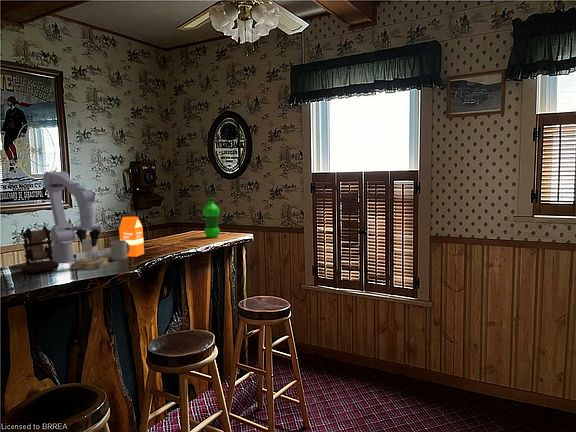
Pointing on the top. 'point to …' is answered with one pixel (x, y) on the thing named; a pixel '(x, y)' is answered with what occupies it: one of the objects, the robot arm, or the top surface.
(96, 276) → the top surface
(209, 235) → the plastic bottle
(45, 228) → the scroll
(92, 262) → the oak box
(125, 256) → the cup
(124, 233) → the orange juice
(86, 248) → the ceramic block
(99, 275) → the top surface
